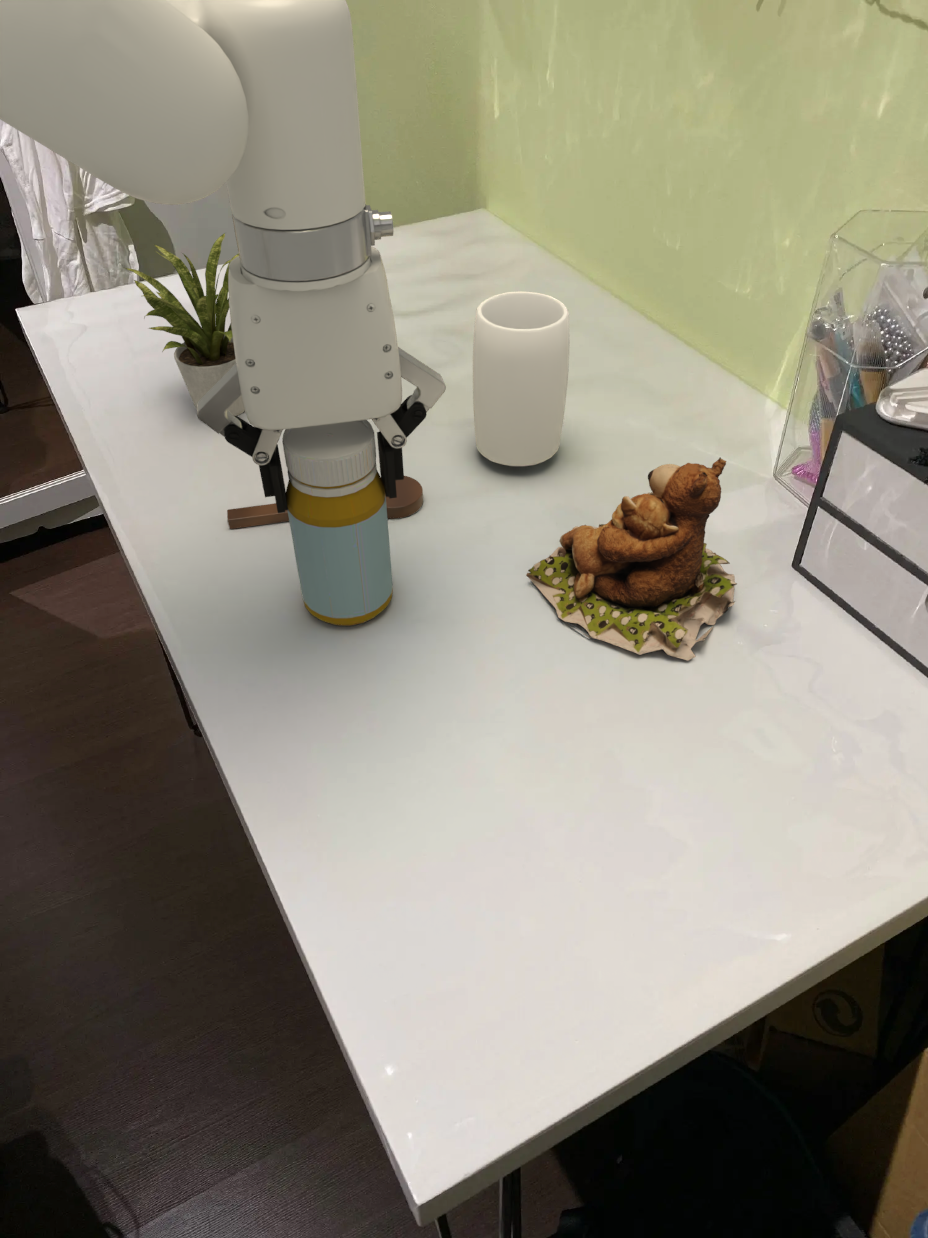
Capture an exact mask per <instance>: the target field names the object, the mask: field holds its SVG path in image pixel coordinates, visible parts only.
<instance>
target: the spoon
mask: <svg viewBox="0 0 928 1238" xmlns="http://www.w3.org/2000/svg"><path fill="white" fill-rule="evenodd" d="M396 493H397V498H390V499H389V497H386V507H387V519H391V520H394V519H404V518H407V517H410V516H412V515H415V514H416V513H417V512H418V511H419V510H420V509H421V508H422V506H423V504H424V490H423V486H422V485H421V483H420V482H419V481H418V480H417V479H415V478H414V477H411V476H408V475H404V479H403V480H396ZM226 515H227V524H228V528H229V530H234V529H242V528H248V527H249V528H251V527H256V526H257V527H258V526H263V525H272V524H278V523H279V524H280V523H286V522H289V516H288V510H285V512H284V513H278V511H277V506H276V502H275V503H268V504H261V505H259V504H258V505H253V506H252V505H251V506H245V507H237V508H229V509H226Z"/></svg>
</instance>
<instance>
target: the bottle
mask: <svg viewBox="0 0 928 1238" xmlns="http://www.w3.org/2000/svg"><path fill="white" fill-rule="evenodd" d="M282 433H283V434H282V438H281V439H282V448H283V454H284V461H285V466H286V469H287V476H288V477H287V478H288V482H287V485H286V488H285V491H286V500H287V507H288V516H289V521H288V522H289V528H290V533H291V539H292V540H291V541H292V545H293V551H294V557H295V563H296V569H297V573H298V580H299V581H298V582H299V585H300V590H301V591H300V592H301V596H302V600H303V604H304V607H305V609H306V610H307V611H308V612H309V613H310V615H312V616H313V617H315V618H316V619H319V620H320V621H322V622H325V623H327V624H331V625H334V626H345V627H350V626H356V625H360V624H364V623H366V622H368V621H371V620H373V619H375V617H377V616H378V615H379V614H381V613H382V612H383V611H384V610H385V609H387V607H388V606H389V604H390V603H391V600H392V598H393V593H394V592H393V585H394V584H393V571H392V560H391V546H390V535H389V522H388V521H389V520H388V519H389V518H387V507H386V494H385V489H384V484H383V481H382V479H381V474H380V472H379V471H378V469H377V448H376V438H375V436H376V435H375V431H374V428H373V426H372V424H371V423H370V421H368V420H361V421H353V422H345V423H336V424H328V425H320V426H311V427H302V428H293V429H284V431H283V432H282Z"/></svg>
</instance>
